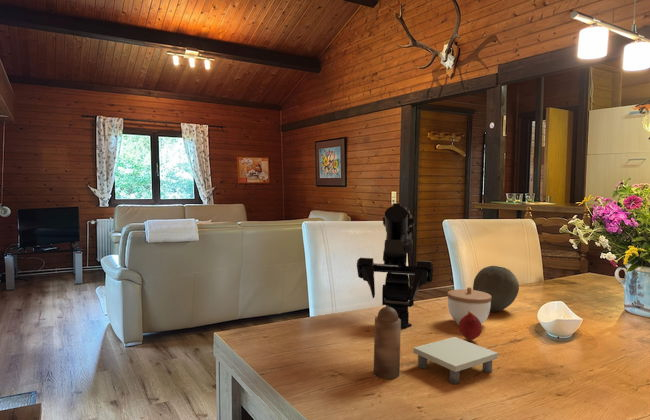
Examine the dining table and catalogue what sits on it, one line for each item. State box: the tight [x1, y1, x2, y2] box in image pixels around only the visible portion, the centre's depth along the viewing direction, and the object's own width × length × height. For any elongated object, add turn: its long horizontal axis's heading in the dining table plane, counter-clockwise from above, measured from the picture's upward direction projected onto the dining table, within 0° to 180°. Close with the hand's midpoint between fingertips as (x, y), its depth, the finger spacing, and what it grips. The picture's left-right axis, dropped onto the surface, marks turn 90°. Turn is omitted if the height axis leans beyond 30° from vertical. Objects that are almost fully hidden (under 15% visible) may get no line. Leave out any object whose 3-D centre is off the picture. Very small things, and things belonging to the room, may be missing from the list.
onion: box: [458, 311, 483, 342], centre depth 114 cm, size 6×6×8 cm
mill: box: [373, 306, 402, 380], centre depth 92 cm, size 6×6×15 cm
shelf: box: [412, 336, 499, 385], centre depth 96 cm, size 12×14×4 cm
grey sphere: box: [472, 265, 520, 312], centre depth 143 cm, size 14×14×15 cm
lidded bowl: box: [447, 286, 491, 326], centre depth 128 cm, size 13×13×11 cm
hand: (392, 298), depth 102 cm, fingers open, 9 cm apart
